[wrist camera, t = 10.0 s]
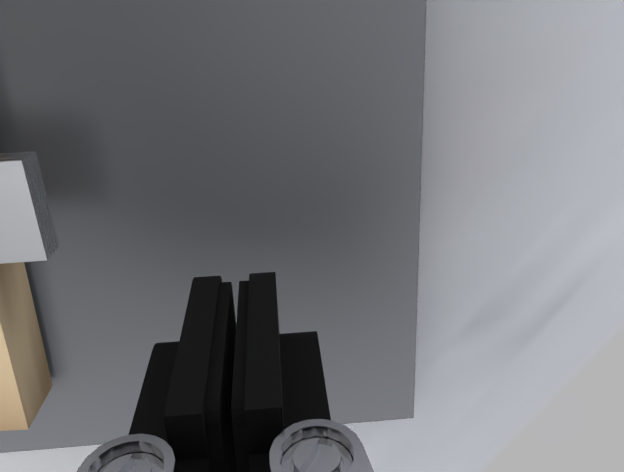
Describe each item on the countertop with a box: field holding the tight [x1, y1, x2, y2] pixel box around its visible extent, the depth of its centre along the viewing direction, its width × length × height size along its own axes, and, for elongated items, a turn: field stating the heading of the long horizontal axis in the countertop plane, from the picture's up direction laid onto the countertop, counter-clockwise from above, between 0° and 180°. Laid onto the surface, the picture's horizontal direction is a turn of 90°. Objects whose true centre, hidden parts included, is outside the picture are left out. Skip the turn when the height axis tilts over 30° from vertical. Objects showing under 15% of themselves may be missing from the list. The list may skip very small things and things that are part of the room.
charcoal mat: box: [0, 0, 426, 453], centre depth 16 cm, size 20×18×1 cm
